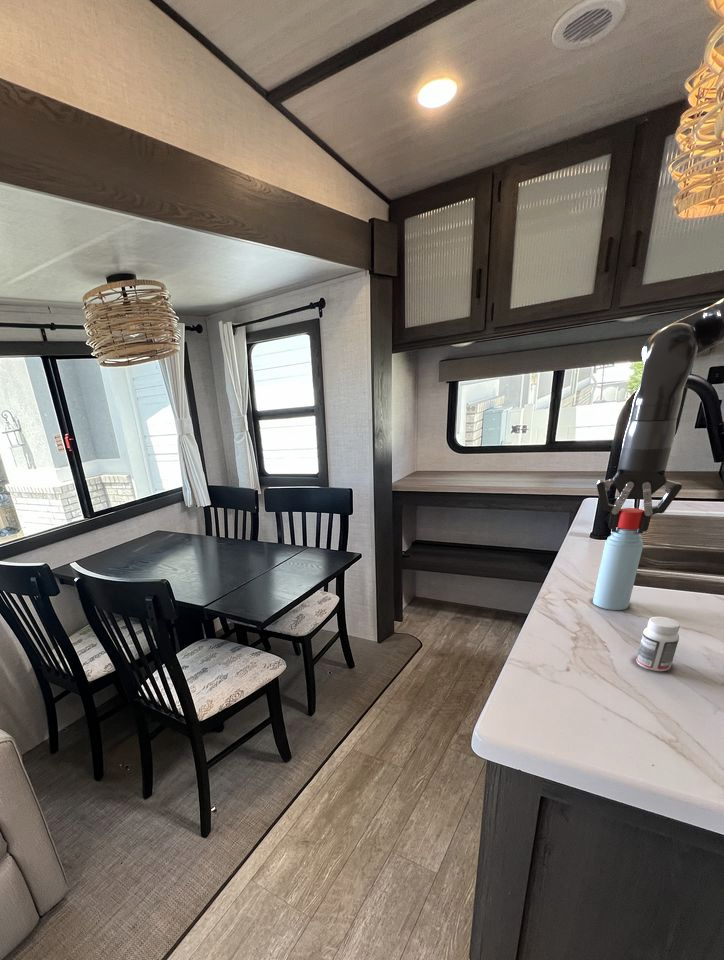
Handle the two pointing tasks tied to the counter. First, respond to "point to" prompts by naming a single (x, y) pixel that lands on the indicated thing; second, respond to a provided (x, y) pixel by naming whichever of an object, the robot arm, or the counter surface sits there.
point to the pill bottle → (658, 644)
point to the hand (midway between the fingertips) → (626, 531)
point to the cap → (630, 518)
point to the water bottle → (618, 569)
